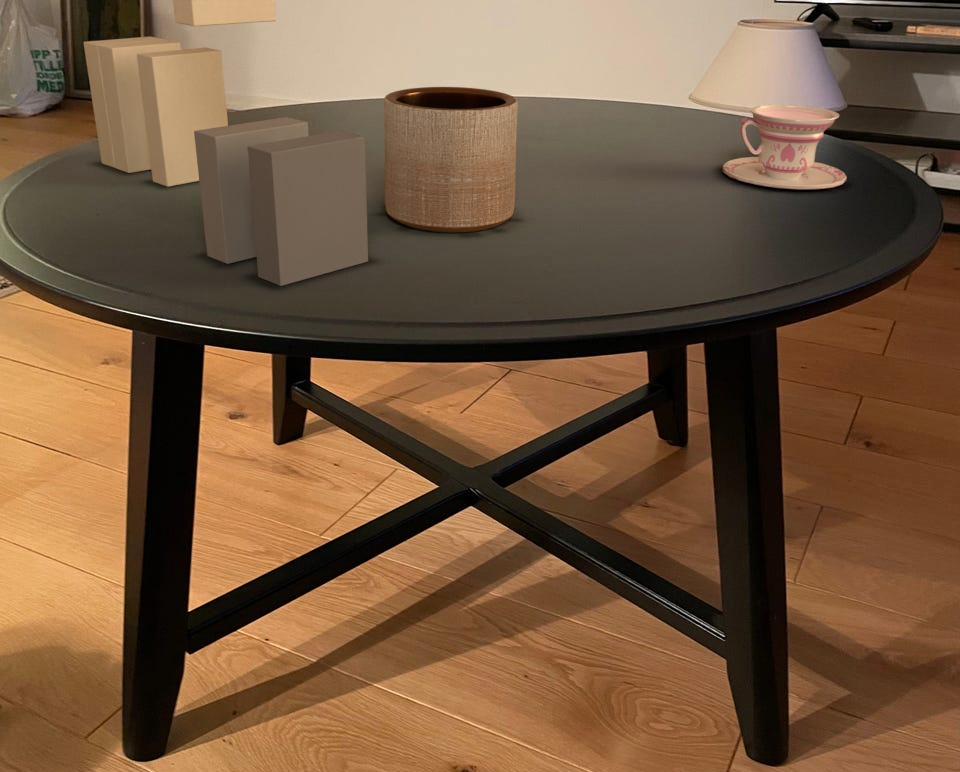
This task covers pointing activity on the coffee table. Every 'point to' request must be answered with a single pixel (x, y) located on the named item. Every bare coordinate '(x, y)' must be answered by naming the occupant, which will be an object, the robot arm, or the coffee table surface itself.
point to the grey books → (283, 197)
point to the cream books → (154, 104)
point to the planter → (450, 158)
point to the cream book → (223, 11)
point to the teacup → (786, 149)
